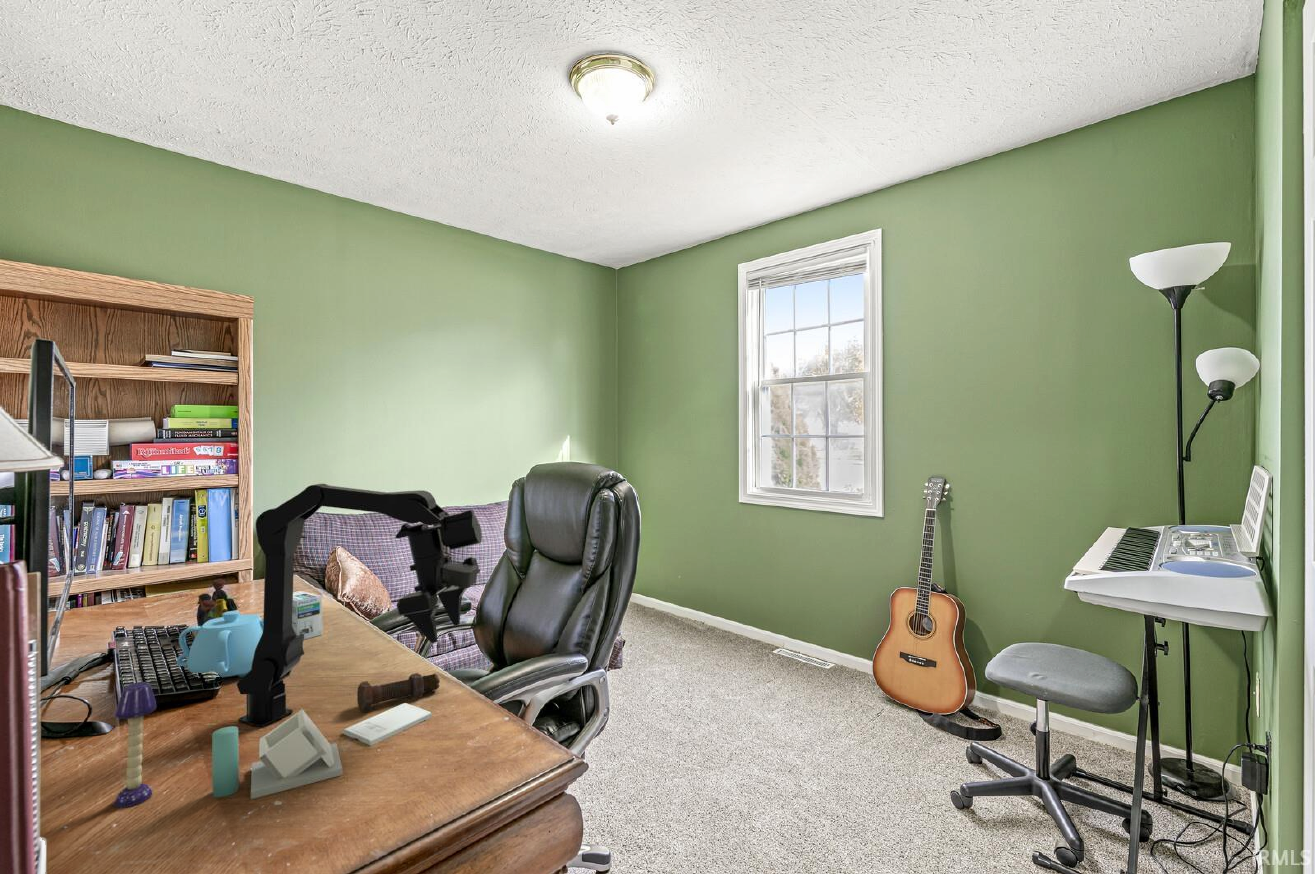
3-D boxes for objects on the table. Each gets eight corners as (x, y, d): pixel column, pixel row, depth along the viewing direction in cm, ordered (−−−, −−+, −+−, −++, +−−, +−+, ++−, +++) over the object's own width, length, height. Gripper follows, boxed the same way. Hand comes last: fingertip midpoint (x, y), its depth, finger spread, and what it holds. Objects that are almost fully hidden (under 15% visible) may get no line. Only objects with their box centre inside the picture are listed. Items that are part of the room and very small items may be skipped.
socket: (336, 748, 105) (336, 698, 105) (342, 774, 97) (341, 720, 97) (252, 769, 99) (251, 716, 99) (250, 799, 91) (250, 741, 91)
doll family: (183, 628, 171) (182, 580, 171) (221, 621, 178) (221, 575, 178) (204, 647, 156) (204, 594, 156) (246, 638, 163) (246, 587, 163)
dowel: (207, 794, 92) (207, 734, 92) (229, 783, 95) (229, 724, 95) (222, 799, 91) (221, 738, 91) (243, 787, 94) (243, 728, 94)
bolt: (438, 700, 129) (360, 718, 119) (431, 681, 132) (355, 698, 123) (444, 680, 127) (365, 697, 117) (437, 661, 130) (360, 677, 121)
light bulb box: (323, 635, 165) (323, 594, 165) (297, 642, 160) (297, 600, 160) (301, 628, 171) (301, 589, 171) (276, 635, 165) (275, 594, 165)
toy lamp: (132, 789, 93) (131, 679, 93) (164, 787, 94) (164, 678, 94) (106, 808, 88) (105, 692, 88) (141, 806, 89) (140, 691, 89)
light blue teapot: (210, 692, 129) (210, 627, 129) (170, 678, 136) (170, 616, 136) (288, 666, 143) (288, 607, 143) (248, 654, 151) (248, 599, 151)
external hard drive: (431, 720, 117) (370, 749, 106) (403, 710, 121) (343, 736, 111) (431, 711, 117) (370, 739, 106) (403, 702, 121) (342, 727, 111)
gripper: (443, 559, 109) (463, 645, 109) (486, 537, 128) (503, 610, 128) (386, 570, 111) (405, 655, 111) (437, 546, 129) (453, 619, 130)
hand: (446, 633), depth 120 cm, fingers open, 9 cm apart
